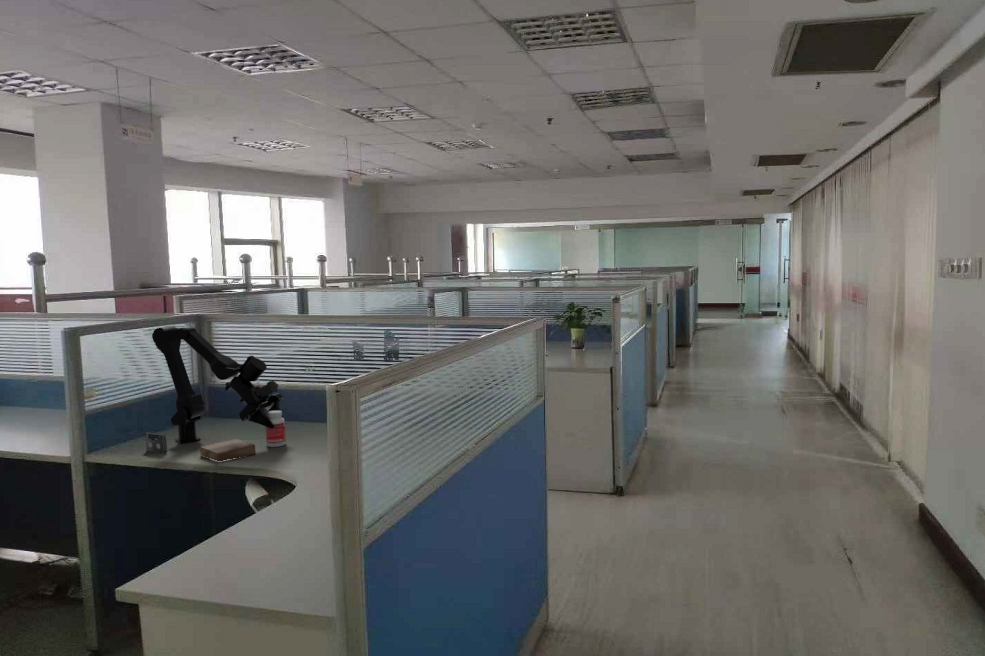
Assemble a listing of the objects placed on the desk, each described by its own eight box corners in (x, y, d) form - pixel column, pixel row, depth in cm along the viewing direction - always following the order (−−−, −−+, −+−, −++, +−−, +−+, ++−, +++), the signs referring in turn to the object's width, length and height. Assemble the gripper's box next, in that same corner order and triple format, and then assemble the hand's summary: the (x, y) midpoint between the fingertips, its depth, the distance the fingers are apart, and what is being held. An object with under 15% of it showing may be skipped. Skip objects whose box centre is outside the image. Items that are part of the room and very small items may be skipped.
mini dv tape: (167, 452, 232) (165, 434, 231) (163, 454, 230) (161, 435, 230) (150, 449, 236) (149, 431, 235) (146, 451, 234) (145, 432, 234)
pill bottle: (288, 445, 237) (286, 412, 236) (269, 448, 233) (267, 414, 232) (282, 441, 242) (280, 408, 241) (264, 444, 239) (262, 411, 237)
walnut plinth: (200, 456, 227) (200, 446, 226) (236, 447, 235) (236, 438, 235) (219, 463, 219) (218, 453, 218) (255, 454, 227) (255, 445, 227)
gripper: (244, 379, 227) (278, 415, 226) (276, 369, 245) (307, 402, 244) (224, 403, 230) (257, 439, 228) (257, 391, 248) (288, 424, 246)
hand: (278, 425), depth 237 cm, fingers closed on pill bottle, 6 cm apart
